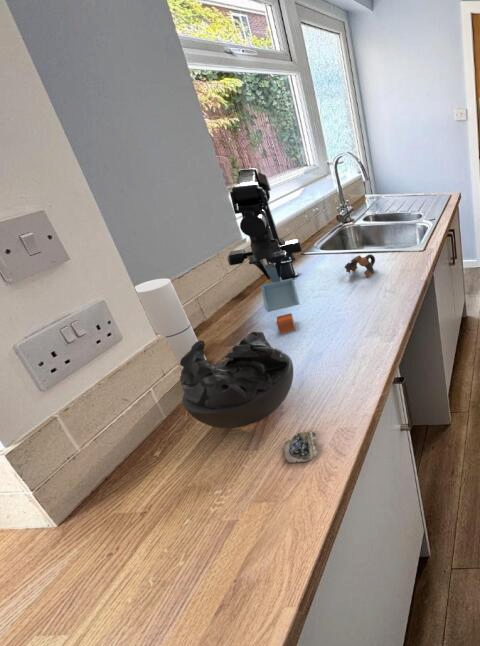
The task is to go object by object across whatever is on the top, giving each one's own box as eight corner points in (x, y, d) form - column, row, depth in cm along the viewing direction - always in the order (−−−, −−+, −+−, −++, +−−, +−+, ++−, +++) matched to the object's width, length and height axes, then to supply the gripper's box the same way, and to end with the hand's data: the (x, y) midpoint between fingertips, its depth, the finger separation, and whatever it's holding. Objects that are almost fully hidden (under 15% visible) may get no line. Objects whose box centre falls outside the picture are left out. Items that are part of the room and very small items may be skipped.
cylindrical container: (191, 380, 101) (148, 293, 91) (168, 377, 103) (123, 291, 92) (215, 362, 108) (177, 279, 97) (193, 360, 109) (154, 277, 98)
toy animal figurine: (363, 282, 150) (348, 265, 147) (352, 286, 156) (338, 270, 153) (385, 262, 157) (371, 246, 155) (374, 267, 164) (360, 252, 161)
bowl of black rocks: (321, 402, 92) (299, 333, 84) (226, 467, 77) (188, 390, 69) (276, 373, 102) (252, 309, 94) (184, 425, 88) (147, 354, 80)
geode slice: (310, 428, 85) (307, 422, 84) (329, 447, 80) (327, 440, 79) (277, 449, 80) (274, 442, 79) (295, 471, 76) (292, 463, 75)
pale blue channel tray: (262, 285, 127) (251, 267, 117) (293, 278, 131) (286, 260, 120) (267, 312, 124) (257, 296, 113) (299, 304, 127) (292, 288, 117)
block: (276, 316, 121) (276, 322, 117) (291, 313, 122) (291, 318, 119) (280, 328, 122) (280, 334, 119) (295, 324, 124) (295, 330, 121)
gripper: (216, 242, 106) (236, 295, 112) (294, 228, 114) (309, 279, 119) (222, 232, 115) (240, 282, 121) (294, 220, 123) (307, 268, 129)
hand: (274, 278), depth 122 cm, fingers closed on pale blue channel tray, 2 cm apart
